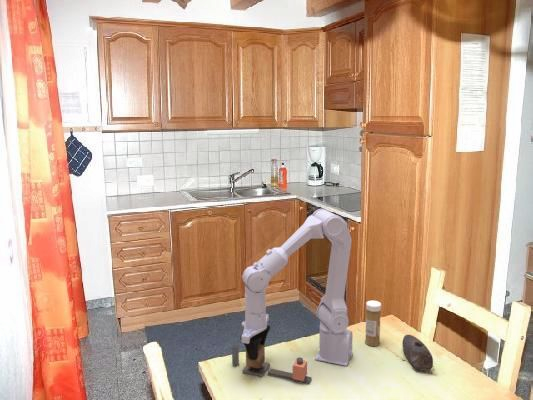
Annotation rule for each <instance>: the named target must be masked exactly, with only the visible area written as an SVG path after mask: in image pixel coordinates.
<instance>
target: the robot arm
mask: <svg viewBox="0 0 533 400" xmlns="http://www.w3.org/2000/svg"><path fill="white" fill-rule="evenodd" d="M325 237H326V239H328V240H329V241H330V243H331V246H330V247H331V249H330V256H329V264H328V270H327V277H326V278H327V279H326V287H325V294H324V295H322V297H321V298H320V301H319V305H318V306H317V308H316V317H317V318H318V319H319V345H318V346H319V347H318V348H319V350H318V352H317V354H316V356H315V358H314V360H315V361H319V362H325V363H329V364H335V365H341V366H345V367H346V366H348V365H349V363H350V360H351V358H352V355H353V331H352V330H349V329H348V328H349V327H348V326H349V323H350V320H349V317H348V307H347V304H346V302H345V293H346V286H347V278H348V270H349V263H350V256H351V249H352V242H353V241H352V237H351V233H350V232H349V228H348V222H347V221H346V220H344V218H342V217H341V216H340V215H337V214H335V213H333V212H331V211H329V210H328V209H326V208H319V209H316V210H315V211H314V212H313V213H312V214H310V215H309V216H307V218H306V219H305V221H304V222H303V224H301V226H299V228H297V230H296V231H295V232H294V233H293V234H292V235H291V236H290V237H289V238H288V239H287V240H286V241H285V242H283V244H282V245H281V246H279V247H273V248H271V249H270V248H268V249H267V250H266V251H265V253H266V254H265V255H263V256H262V257H261V258H260V259H259V260H258V261H254V263H253V264H252V265H250V266H248V267H246V268H245V269H244V271H243V274H242V275H241V280H242V282H243V283H244V312H245V314H244V319H245V320H244V321H242V322H241V326H242V327H243V332H242V334H241V335H240V341H241V343H242V344H243V345H244V347H245V351H246V350H247V353H248V357H249V359H251V360H256V359H257V356H258V348H259V344H260V345H266V340H267V338H268V337H267V336H268V334H269V332H270V330H271V325H268V322H269V320H270V318H269V316H270V315H269V313H267V307H266V306H267V303H266V301H267V298H266V297H267V296H266V289H268V286H269V283H270V280H271V279H272V278H273V277H274V276H275V275H276V274H277V273H278V272H280V271H281V270H282V269H283V268H285V266H286V265H287V264H288V263H289V262H288V261H289V257H290V256H291V255H293V254H294V253H295V252H296V251H297V250H299V249H300V248H301V247H303V246H304V245H305V244H306V243H307V242H309V241H310V240H312V239H313V240H314V239H316V240H317V239H324V238H325Z"/></svg>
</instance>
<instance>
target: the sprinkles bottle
mask: <svg viewBox="0 0 533 400" xmlns="http://www.w3.org/2000/svg"><path fill="white" fill-rule="evenodd" d="M365 309H366V310H365V311H366V313H365V314H366V316H365V340H364V342H365V344H366V345H367V346H370V347H377V346H379V345H380V343H381V340H380V337H381V336H380V335H381V312H382V303H381V302H380V301H377V300H368V301H367V302H366V303H365Z"/></svg>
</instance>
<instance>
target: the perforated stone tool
mask: <svg viewBox="0 0 533 400" xmlns="http://www.w3.org/2000/svg"><path fill="white" fill-rule="evenodd" d="M402 349H403V352H404V354H405V356H406V358H407V359H408V361H409V363H410V365H411V366H412V367H414V368H415V369H416V370H417V371H424V372H425V371H426V372H428V371H431V370H432V368H433V365H434V358H433V355H432V353H431V351H430V350H429V348H428V347H427V346H426V345H425V344H424V342H422V341H421V340H420V339H419V338H417V337H415V336H414V335H413V334H405V335H404V337H403V338H402Z"/></svg>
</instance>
